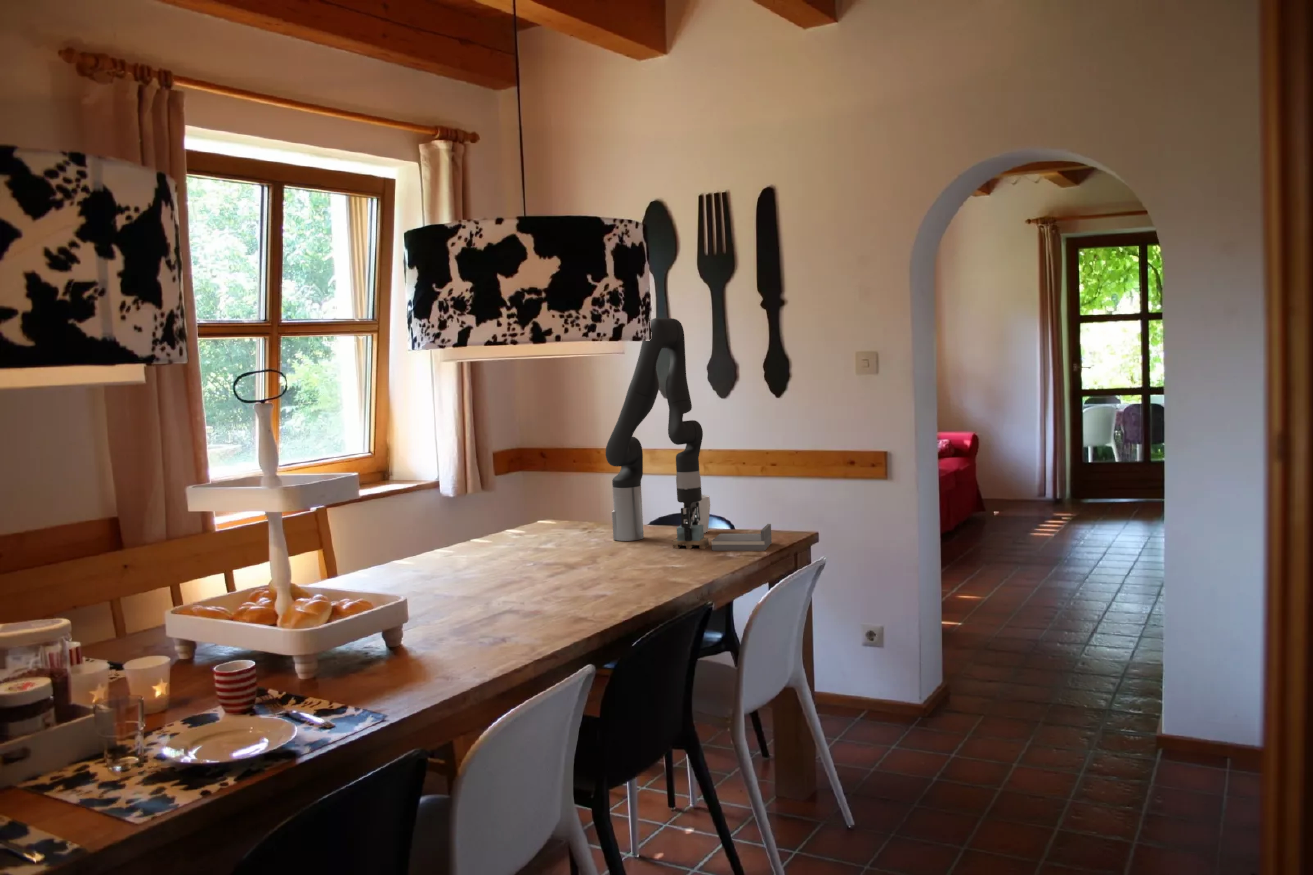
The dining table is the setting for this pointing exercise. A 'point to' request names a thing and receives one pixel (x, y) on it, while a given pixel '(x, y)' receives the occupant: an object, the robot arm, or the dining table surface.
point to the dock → (743, 541)
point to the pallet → (691, 543)
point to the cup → (704, 512)
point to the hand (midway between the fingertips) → (691, 538)
